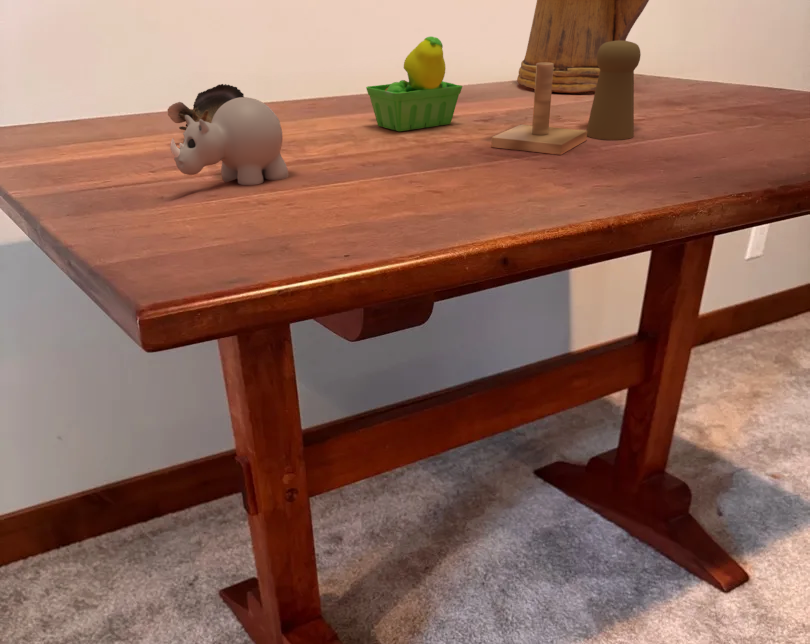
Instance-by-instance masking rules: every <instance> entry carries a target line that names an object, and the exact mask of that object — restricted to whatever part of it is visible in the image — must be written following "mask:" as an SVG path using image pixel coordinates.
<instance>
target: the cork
mask: <svg viewBox="0 0 810 644" xmlns="http://www.w3.org/2000/svg"><path fill="white" fill-rule="evenodd" d="M641 55H642V54H641V49H640V46H639V44H637V43H636V42H633V41H629V40H626V41H621V40H618V41H610V42H606V43H604V44H602V45H601V47H600V48H599V50H598V53H597V65H598V67H599V69H600V73H599V77H598V82H597V86H596V91H595V93H594V95H593V99H592V104H591V109H590V114H589V118H588V122H587V126H586V129H585V130H586V131H587V137H589V138H592V139H598V140H608V141H611V140H612V141H619V140H620V141H621V140H627V139H632V138H634V135H635V70H636V69H637V67H638V66H639V63H640V60H641V57H642V56H641Z"/></svg>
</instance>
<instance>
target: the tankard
mask: <svg viewBox="0 0 810 644" xmlns="http://www.w3.org/2000/svg"><path fill="white" fill-rule="evenodd" d="M649 1H650V0H536V4H535V9H534V13H533V19H532V23H531V28H530V32H529V37H528V42H527V46H526V50H525V55H524V59H523V60H522V61H521V63H520V67H519V69H518V76H517V77H516V78H517V79H516V82H517V84H519V85H521V86H524V87H527V88H531V89H534V90H535V79H536V64H537V63H540V62H550V63H553V64H554V66H553V79H552V93H553V92H554V93H562V94H563V93H566V94H595V91H596V86H597V82H598V77H599V73H600V69H599V67H598V65H597V53H598V50H599V48H600V47H601V45H602V44H604V43H606V42H610V41H618V40H621V41H627V38H628V36H629V35H630V32H631V30H632V28H633V27H634V25H635V23H636V22H637V20H638V19H639V17H640V16H641V14H642V13H643V12H644V10H645V9H646V7H647V6H648V3H649Z"/></svg>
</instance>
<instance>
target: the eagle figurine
mask: <svg viewBox="0 0 810 644" xmlns="http://www.w3.org/2000/svg"><path fill="white" fill-rule="evenodd" d="M240 97H245V94H244V93H243V92H242V91H241V89H239V88H238V87H237V86H233V85H230V84H226V83H225V84H224V83H221V84H217V85H216V86H213V87H211V88H207V89H206V90H204V91H201V92H198V93H197V95H196V97H195V99H194V102H193V107H192V109H191V108H190V107H188V106H187V105H186V104H184V103H183V102H182V101H178V102H174V103H172V104H171V105H169V106H168V108H167V116H168V117H169V118H170V120H171V121H172V122H173V123H175V124H182V123H185V126H183V125H182V126H179V127H178V129H179V130H181V131H184V132H185V131H186V129H187V127H188V125H187V122H186V119H185V115H188V116H190V117H191V118H192V119H193V120H194V121H195V122H199V120H200V119H202V120H203V121H205V122H209V123H211V122H212V119H213V117H214V115H215V113H216V112H217V110H218V109H219V108H220V107H221V106H222V105H223V104H224V103H226V102H228V101H230V100H232V99H235V98H240Z"/></svg>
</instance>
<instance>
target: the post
mask: <svg viewBox="0 0 810 644" xmlns="http://www.w3.org/2000/svg"><path fill="white" fill-rule="evenodd" d="M553 66H554V64H553V63H550V62H540V63H537V64H536V79H535V89H534V95H533V96H534V97H533V108H532V110H533V113H532V124H518V125H516V126H514V127H512V128H510V129H507V130H505V131H503V132H502V131H501V132H500V133H498V134H496V135H493V136H491V139H490V147H491V148H495V149H503V150H504V149H505V150H513V151H522V152H533V153H540V154H551V155H559V156H561V155H563V154H565V153H567V152H569V151H570V150H572V149H574V148H575V147H578V146H579V145H581V144H583V143H585V142H586V141H587V140H588V136H587V131H586V130H587V129H585V130H584V129H575V128H564V127H563V128H562V127H554V126H550V119H551V103H552V93H553V91H552V79H553Z"/></svg>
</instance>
